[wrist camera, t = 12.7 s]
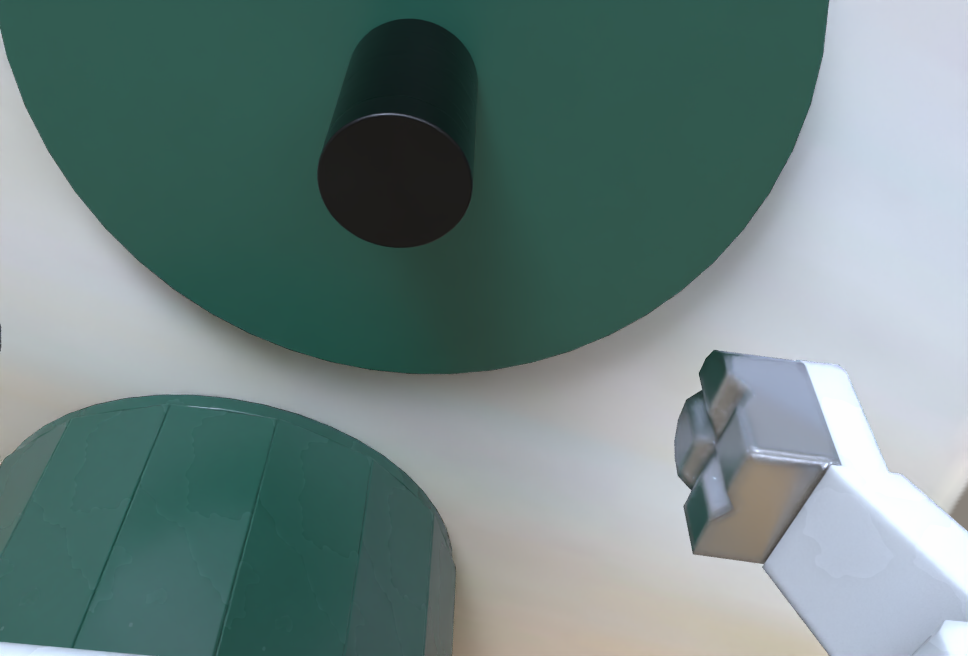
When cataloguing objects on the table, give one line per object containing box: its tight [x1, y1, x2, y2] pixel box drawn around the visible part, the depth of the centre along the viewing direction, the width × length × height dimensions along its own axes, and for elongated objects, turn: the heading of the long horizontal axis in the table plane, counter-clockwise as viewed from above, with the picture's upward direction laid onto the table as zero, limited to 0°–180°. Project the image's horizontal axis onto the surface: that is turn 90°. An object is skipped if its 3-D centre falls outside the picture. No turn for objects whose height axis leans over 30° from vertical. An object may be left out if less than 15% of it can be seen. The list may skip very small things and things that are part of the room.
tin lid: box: [0, 0, 829, 374], centre depth 17 cm, size 16×16×5 cm
